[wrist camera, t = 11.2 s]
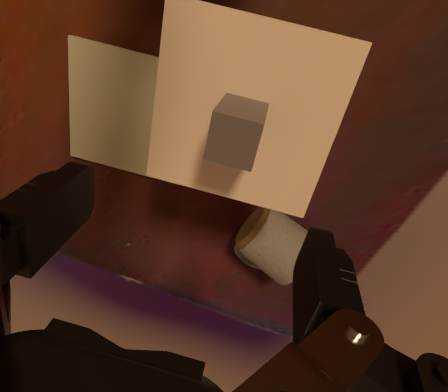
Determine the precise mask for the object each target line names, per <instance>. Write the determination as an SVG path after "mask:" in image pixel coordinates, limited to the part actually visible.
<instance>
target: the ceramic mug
mask: <svg viewBox="0 0 448 392" xmlns="http://www.w3.org/2000/svg"><path fill="white" fill-rule="evenodd" d="M307 232H308V231H307V230H305V229H304V228H303V227H302V226H300V225H299V224H297V223H296V222H295V221H293V220H292V219H290V218H289V217H288V216H286V215H285V214H284V213H283V212H279V211H275V210H271V209H268V208H264V207H258V208H257V209H256V210H255V211H254V212H253V213H252V214H251V215H250V216H249V217H248V218H247V219H246V221H245V222H244V224H243V225H242V227H241V228H240V230H239V232H238V234H237V236H236V239H235V247H234V251H235V253H236V255H237V256H238V257H239V258H240V259H241V260H242V261H243V262H244V263H246V264H247V265H249V266H251V267H253V268H256V269H261V270H262V271H263V272H265V273H266V274H267V275H268V276H269V277H271V278H272V279H273V280H274V281H276V282H277V283H278V284H280V285H287V284H290V283H291V282H293V270H294V265H295V262H296V259H297V257H298V254H299V252H300V249H301V247H302V244H303V242H304V239H305V237H306V235H307Z"/></svg>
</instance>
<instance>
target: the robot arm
mask: <svg viewBox="0 0 448 392" xmlns="http://www.w3.org/2000/svg"><path fill="white" fill-rule="evenodd" d="M93 205H94V169H93V168H92V167H90V166H87V165H83V164H79V163H76V162H69V163H67V164H66V165H64V166H63V167H61V168H60V169H58V170H57V171H50V172H47V173H44V174H40V175H38V176H36V177H35V178H33V179H32V180H30V181H29V182H28V184H24V185H23V186H21V187H20V188H19V190H18V189H17V190H15V191H14V192H12V193H11V194H9V195H8V196H6V197H5V198H3V199H1V200H0V392H223V391H222V390H221V389H220V388H219V387H218V386H217V385H216V384H215V383H213V382H212V381H211V380H209V379H208V378H206V377H205V376H203V370H204V366H205V362H202V361H199V360H195V359H192V358H188V357H185V356H181V355H178V354H175V353H171V352H167V351H149V350H128V349H123V348H121V347H119V346H118V345H116V344H114V343H113V342H111V341H109V340H108V339H106V338H104V337H103V336H101V335H100V334H98V333H96V332H94V331H93V330H91V329H89V328H86V327H82V326H79V325H76V324H72V323H68V322H65V321H62V320H58V319H55V318H53V319H52V320H51V322H50V323H49V324H48V326H47V327H46V328H45V329H44V330H29V331H22V332H17V333H13V334H11V296H10V295H11V287H10V279H11V278H12V277H13V276H14V275H20V276H23V277H26V278H32V277H33V276H34V275H35V273H36V272H37V271H38V270H39V269H40V268H41V267H42V266H43V265H44V264H45V263H46V262H47V261H48V260H49V259H50V258H51V257H52V256H53V255H54V254H55V253H56V252H57V251H58V250H59V249H60V248H61V246H62V245H63V244H64V243H65V242H66V241H67V240H68V239H69V238H70V237H71V236H72V235H73V234H74V233H75V232H76V231H77V230H78V229H79V228H80V227H81V226H82V225H83V224H84V223H85V222H86V221H87V219H88V218H89V217H90V215H91V213H92V210H93ZM232 392H448V359H447V358H445V357H443V356H441V355H438V354H434V353H425V354H422V355H421V356H420V357H419V358H418V359H417V360H416V361H415V360H413V359H411V358H409V357H408V356H406V355H404V354H402V353H400V352H399V351H397V350H395V349H393V348H391V347H390V346H388V345H387V344H385V343H384V338H383V335H382V333H381V331H380V329H379V328H378V326H377V325H376V324H375V323H374V322H373V321H372V320H371V319H370V318H368V317H367V316H366V315H365V311H364V307H363V303H362V299H361V295H360V291H359V287H358V284H357V278H356V275H355V270H354V266H353V262H352V260H351V259H350V257H349V256H348V255H347V253H346V252H345V251H344V250H342V249H339V248H336V247H335V242H334V236H333V233H332V232H330V231H326V230H322V229H319V228H315V227H310V228H309V230H308V232H307V235H306V237H305V239H304V242H303V244H302V247H301V249H300V252H299V254H298V257H297V259H296V262H295V265H294V270H293V342H292V343H290V344H288V345H287V346H285V347H284V348H283V349H282V350H281V351H280V352H278V353H277V354H276V355H275V356H274V357H272V358H271V359H270V360H269V361H268V362H266V363H265V364H264V365H263V366H262V367H261V368H259V369H258V370H257V371H256V372H255V373H254V374H252V375H251V376H250V377H249V378H248V379H246V380H245V381H244V382H243V383H242V384H241V385H239V386H238V387H237V388H236V389H235V390H234V391H232Z"/></svg>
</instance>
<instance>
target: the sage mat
mask: <svg viewBox="0 0 448 392" xmlns="http://www.w3.org/2000/svg"><path fill="white" fill-rule="evenodd" d="M158 61H159V57H157V56H153V55H149V54H145V53H141V52H137V51H133V50H129V49H125V48H121V47H117V46H113V45H109V44H105V43H101V42H97V41H93V40H89V39H85V38H81V37H77V36H73V35H68V63H69V109H70V155H71V156H73V157H77V158H80V159H84V160H88V161H92V162H95V163H99V164H103V165H107V166H110V167H114V168H118V169H121V170H125V171H129V172H133V173H136V174H140V175H144V176H146V174H147V164H148V155H149V145H150V136H151V127H152V117H153V108H154V99H155V89H156V80H157V70H158ZM148 177H150V176H148ZM151 178H153V177H151ZM155 179H157V178H155ZM159 180H161V179H159ZM162 181H165V180H162ZM166 182H168V181H166ZM170 183H172V182H170ZM174 184H176V183H174ZM177 185H178V184H177Z"/></svg>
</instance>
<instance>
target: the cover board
mask: <svg viewBox="0 0 448 392" xmlns="http://www.w3.org/2000/svg"><path fill="white" fill-rule="evenodd" d="M371 45H372V43H371V42H368V41H364V40H359V39H355V38H351V37H347V36H343V35H339V34H335V33H331V32H327V31H323V30H319V29H315V28H311V27H306V26H302V25H298V24H294V23H290V22H286V21H282V20H278V19H274V18H270V17H266V16H262V15H258V14H254V13H249V12H245V11H241V10H237V9H233V8H229V7H225V6H221V5H217V4H213V3H209V2H205V1H201V0H165V5H164V14H163V24H162V33H161V42H160V52H159V61H158V70H157V80H156V89H155V99H154V108H153V117H152V127H151V136H150V145H149V155H148V164H147V174H146V176H150V177H153V178H157V179H161V180H165V181H168V182H172V183H176V184H179V185H183V186H187V187H190V188H194V189H198V190H201V191H205V192H209V193H212V194H216V195H220V196H224V197H227V198H231V199H235V200H238V201H242V202H246V203H249V204H253V205H257V206H260V207H264V208H268V209H271V210H275V211H279V212H283V213H286V214H290V215H294V216H297V217H301V218H303V217H304V215H305V212H306V210H307V207H308V205H309V202H310V199H311V197H312V194H313V192H314V189H315V187H316V184H317V182H318V179H319V177H320V174H321V172H322V169H323V167H324V164H325V161H326V159H327V156H328V154H329V151H330V149H331V146H332V144H333V141H334V139H335V136H336V134H337V131H338V128H339V126H340V123H341V121H342V118H343V116H344V113H345V111H346V108H347V106H348V103H349V101H350V98H351V96H352V93H353V90H354V88H355V85H356V83H357V80H358V78H359V75H360V73H361V70H362V68H363V65H364V63H365V60H366V58H367V55H368V52H369V50H370V47H371Z"/></svg>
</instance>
